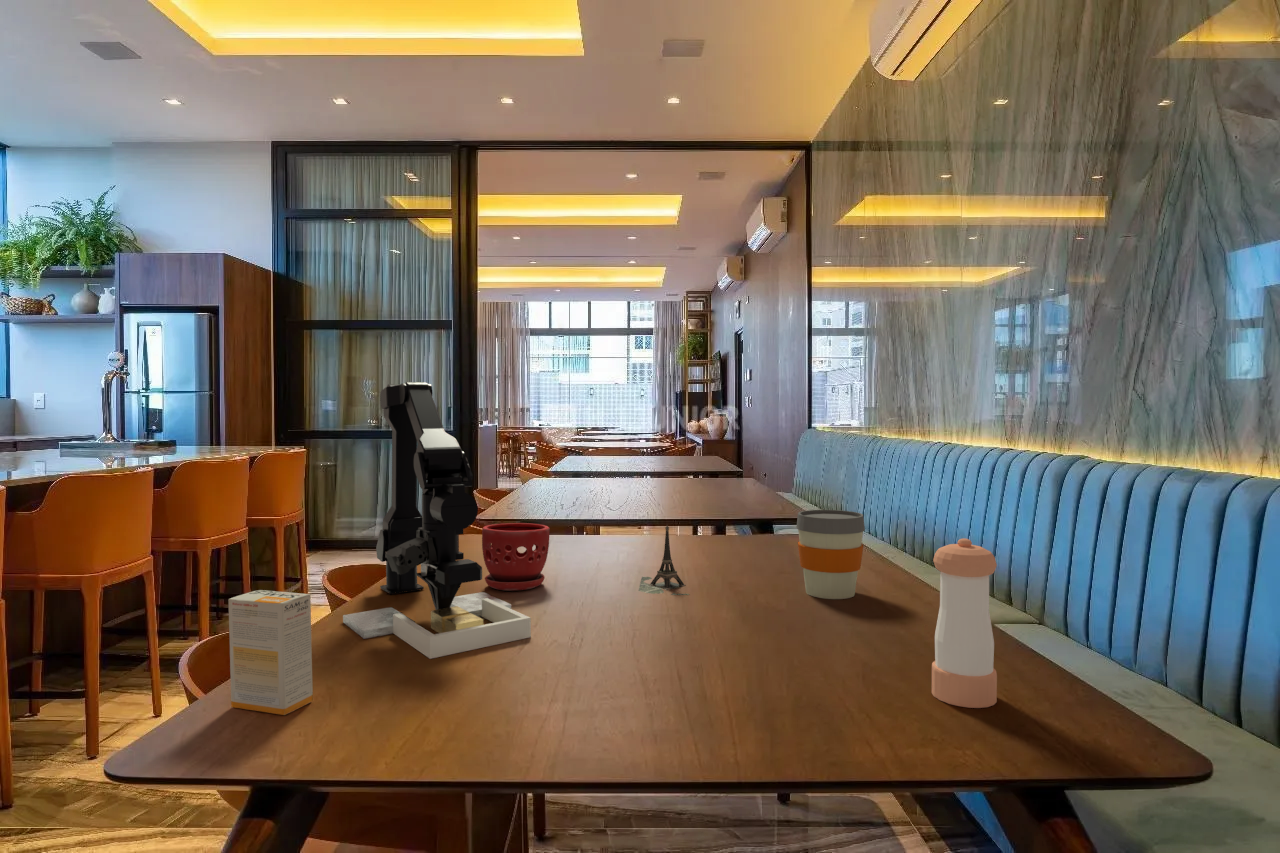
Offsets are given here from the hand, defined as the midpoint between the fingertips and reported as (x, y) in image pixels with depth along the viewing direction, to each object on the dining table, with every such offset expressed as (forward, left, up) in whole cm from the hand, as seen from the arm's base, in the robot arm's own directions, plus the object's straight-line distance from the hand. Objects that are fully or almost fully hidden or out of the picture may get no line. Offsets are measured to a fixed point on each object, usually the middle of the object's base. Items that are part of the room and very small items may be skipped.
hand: (441, 617), depth 121 cm
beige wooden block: (+8, 0, -1) cm, 8 cm away
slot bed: (-5, 0, -1) cm, 6 cm away
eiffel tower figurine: (+2, +45, -2) cm, 45 cm away
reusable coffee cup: (+26, +66, -1) cm, 71 cm away
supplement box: (+19, -29, -1) cm, 35 cm away
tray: (+8, 0, -1) cm, 8 cm away
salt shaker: (+68, +38, -1) cm, 78 cm away
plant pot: (-16, +22, -1) cm, 27 cm away
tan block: (+3, 0, -1) cm, 4 cm away
